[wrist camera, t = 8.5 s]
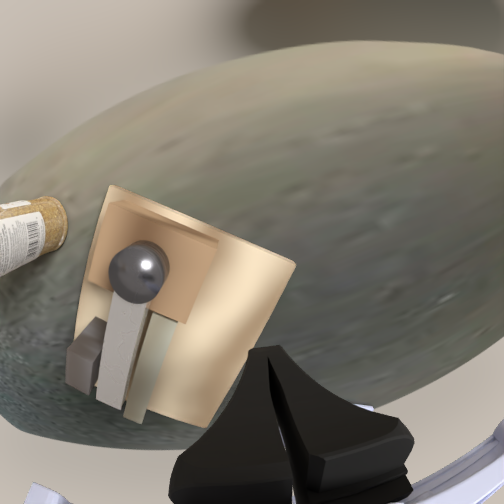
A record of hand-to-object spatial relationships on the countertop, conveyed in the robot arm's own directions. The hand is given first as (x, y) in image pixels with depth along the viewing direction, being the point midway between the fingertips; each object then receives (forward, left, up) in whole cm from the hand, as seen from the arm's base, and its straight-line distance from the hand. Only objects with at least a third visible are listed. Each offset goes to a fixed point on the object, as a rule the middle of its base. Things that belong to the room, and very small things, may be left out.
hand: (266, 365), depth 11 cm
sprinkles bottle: (+17, +2, -10) cm, 20 cm away
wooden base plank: (+5, +6, -9) cm, 12 cm away
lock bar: (+7, +5, -5) cm, 10 cm away
